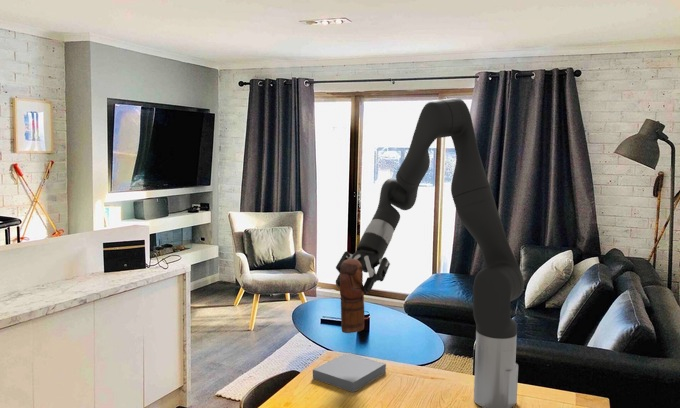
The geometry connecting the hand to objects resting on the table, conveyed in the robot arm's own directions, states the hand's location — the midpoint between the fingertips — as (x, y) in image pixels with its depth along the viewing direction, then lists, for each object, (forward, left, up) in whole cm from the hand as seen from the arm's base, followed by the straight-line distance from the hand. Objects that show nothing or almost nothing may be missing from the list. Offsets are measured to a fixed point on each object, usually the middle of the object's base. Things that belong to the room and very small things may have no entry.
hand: (351, 289), depth 144 cm
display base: (0, 0, -23) cm, 23 cm away
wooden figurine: (0, 0, -10) cm, 10 cm away
